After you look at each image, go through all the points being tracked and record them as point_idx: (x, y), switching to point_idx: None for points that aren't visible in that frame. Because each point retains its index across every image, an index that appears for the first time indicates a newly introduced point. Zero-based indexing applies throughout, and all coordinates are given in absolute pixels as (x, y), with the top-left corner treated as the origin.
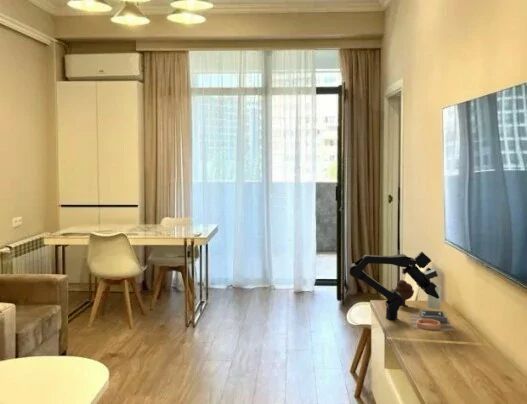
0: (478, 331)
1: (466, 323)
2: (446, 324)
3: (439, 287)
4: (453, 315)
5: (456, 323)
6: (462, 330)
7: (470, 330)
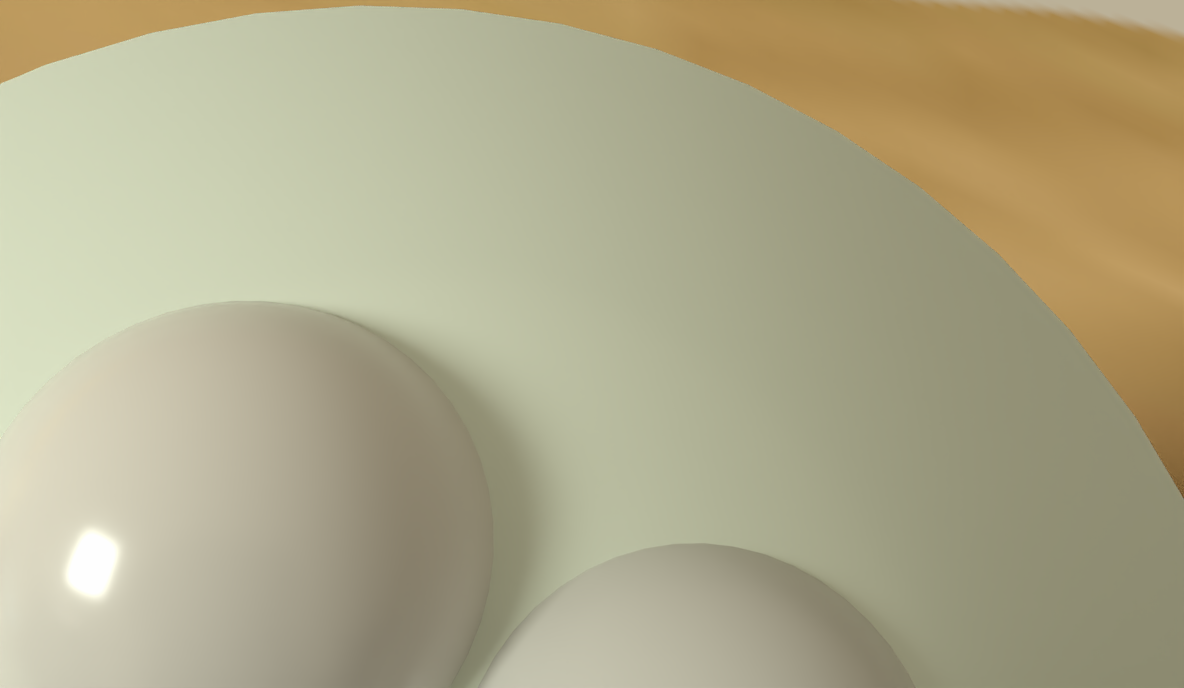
0: (1163, 35)
1: (652, 13)
2: None
3: (1130, 438)
4: (24, 6)
5: None
6: (1142, 306)
7: (1120, 149)
